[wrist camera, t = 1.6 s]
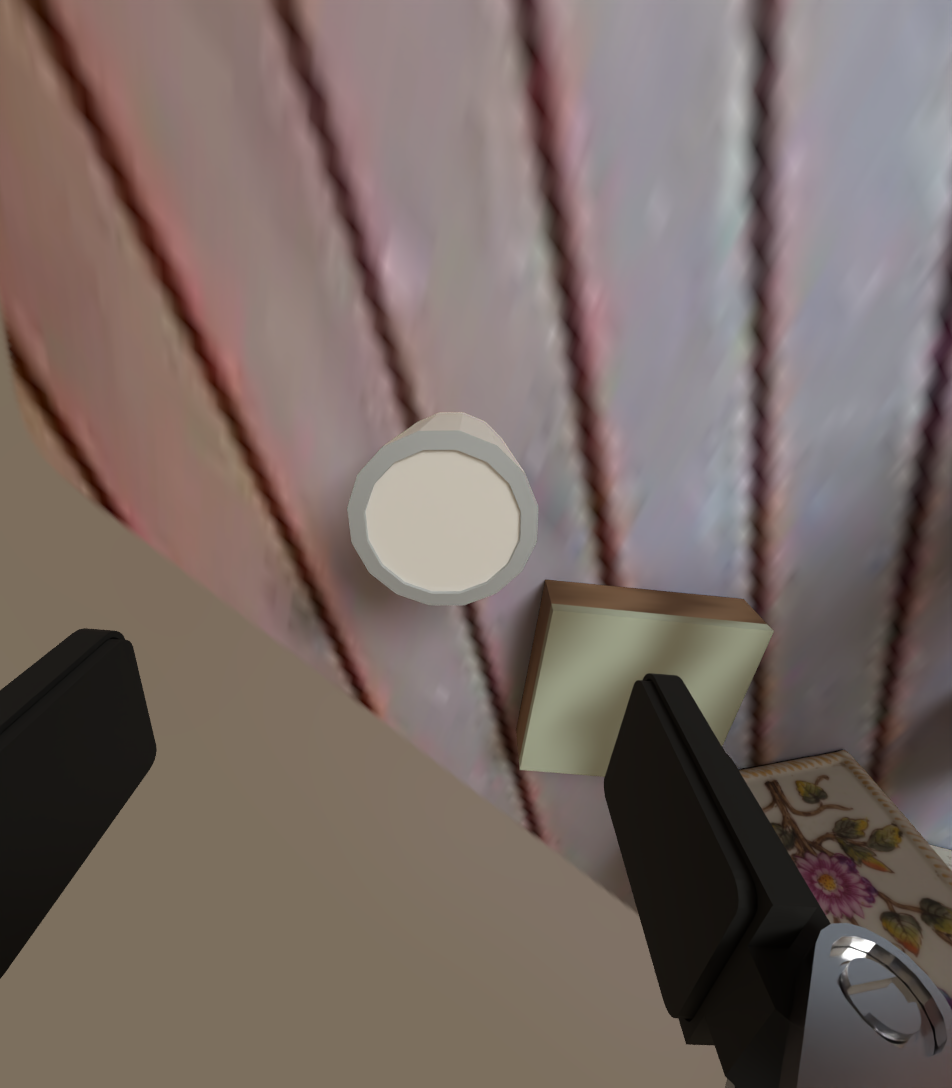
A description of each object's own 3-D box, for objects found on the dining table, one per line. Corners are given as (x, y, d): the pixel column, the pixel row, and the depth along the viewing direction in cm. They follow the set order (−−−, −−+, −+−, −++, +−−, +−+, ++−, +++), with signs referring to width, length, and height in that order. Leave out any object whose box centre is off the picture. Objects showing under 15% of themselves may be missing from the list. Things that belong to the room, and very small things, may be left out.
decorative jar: (684, 880, 37) (844, 1316, 21) (665, 779, 33) (852, 1242, 16) (847, 853, 36) (1155, 1300, 19) (852, 743, 31) (1264, 1213, 15)
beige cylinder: (437, 557, 25) (423, 637, 19) (352, 451, 23) (305, 502, 17) (549, 488, 24) (575, 549, 17) (470, 366, 21) (467, 386, 15)
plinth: (743, 599, 26) (773, 631, 24) (684, 744, 31) (704, 784, 28) (545, 579, 26) (553, 610, 23) (516, 729, 31) (519, 769, 28)
